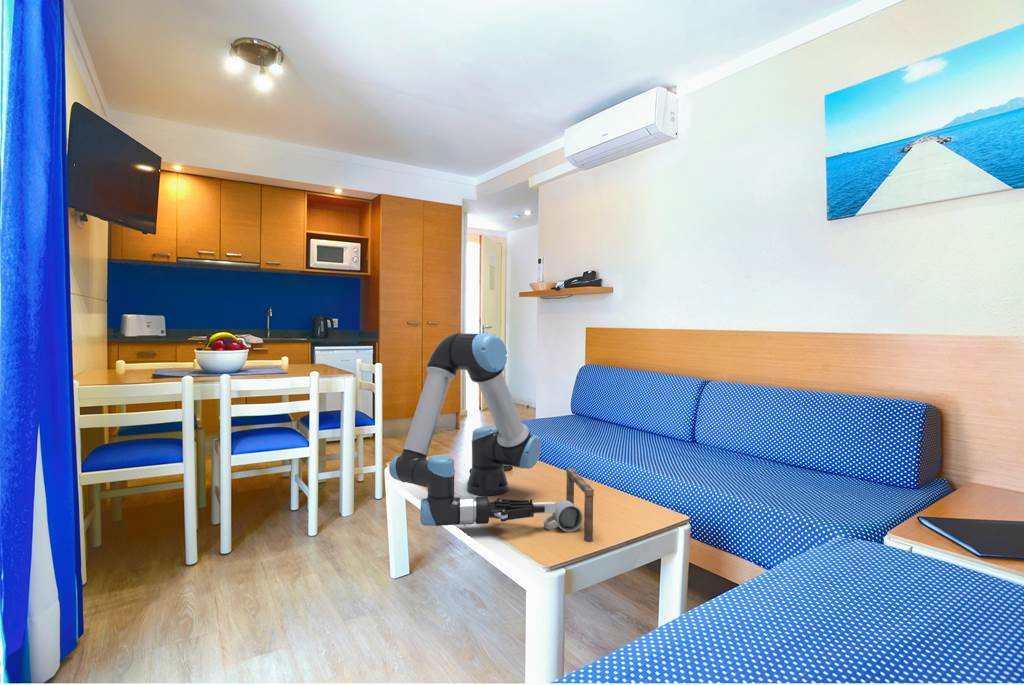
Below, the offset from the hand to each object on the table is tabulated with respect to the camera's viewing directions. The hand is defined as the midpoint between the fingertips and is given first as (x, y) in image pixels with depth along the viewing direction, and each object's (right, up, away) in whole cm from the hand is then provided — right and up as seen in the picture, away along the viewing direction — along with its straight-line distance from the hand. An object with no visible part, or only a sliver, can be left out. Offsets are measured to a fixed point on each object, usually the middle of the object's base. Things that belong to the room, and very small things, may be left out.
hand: (554, 507), depth 144 cm
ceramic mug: (+2, -7, +1) cm, 7 cm away
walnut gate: (+7, -6, +2) cm, 10 cm away
